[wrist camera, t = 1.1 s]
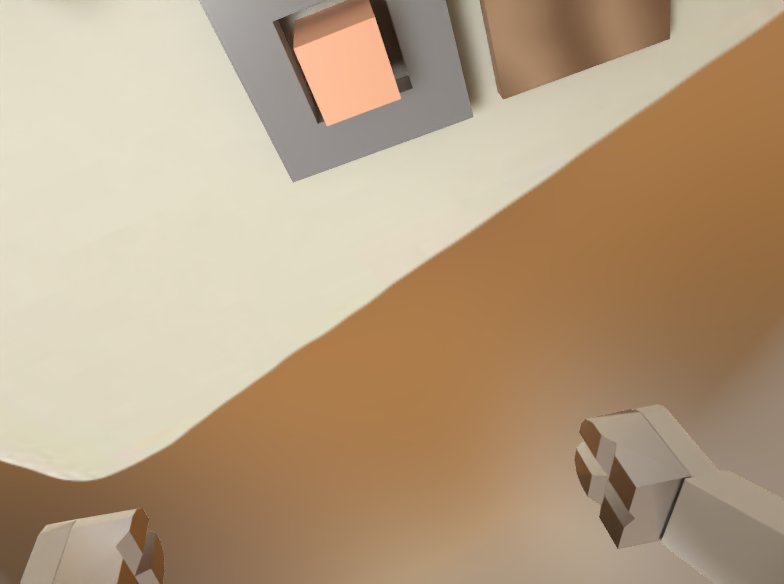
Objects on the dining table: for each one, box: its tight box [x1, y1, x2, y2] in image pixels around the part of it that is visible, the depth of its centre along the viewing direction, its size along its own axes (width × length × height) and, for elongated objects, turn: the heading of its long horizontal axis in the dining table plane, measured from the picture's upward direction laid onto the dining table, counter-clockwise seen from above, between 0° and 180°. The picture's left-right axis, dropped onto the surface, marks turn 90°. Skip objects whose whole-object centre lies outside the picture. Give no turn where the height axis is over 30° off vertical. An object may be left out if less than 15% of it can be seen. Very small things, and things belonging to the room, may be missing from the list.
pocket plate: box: [199, 0, 473, 182], centre depth 36 cm, size 14×14×2 cm
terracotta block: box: [293, 0, 401, 126], centre depth 35 cm, size 5×5×6 cm
